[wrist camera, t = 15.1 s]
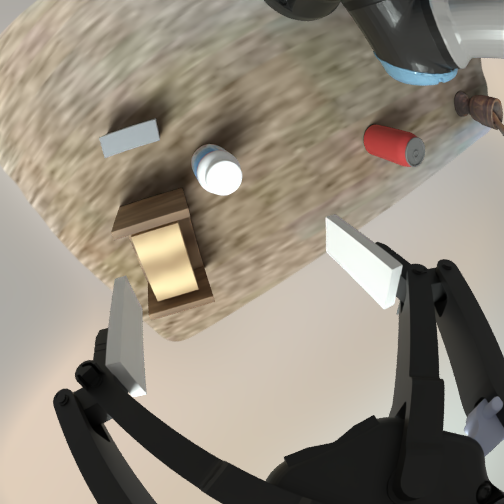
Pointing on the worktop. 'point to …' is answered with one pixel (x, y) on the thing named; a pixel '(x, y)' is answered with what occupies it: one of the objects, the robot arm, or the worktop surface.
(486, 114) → the mortar and pestle
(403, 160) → the beer can
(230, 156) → the pill bottle
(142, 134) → the riser block
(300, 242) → the worktop surface
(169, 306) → the peg frame
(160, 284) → the shelf board
